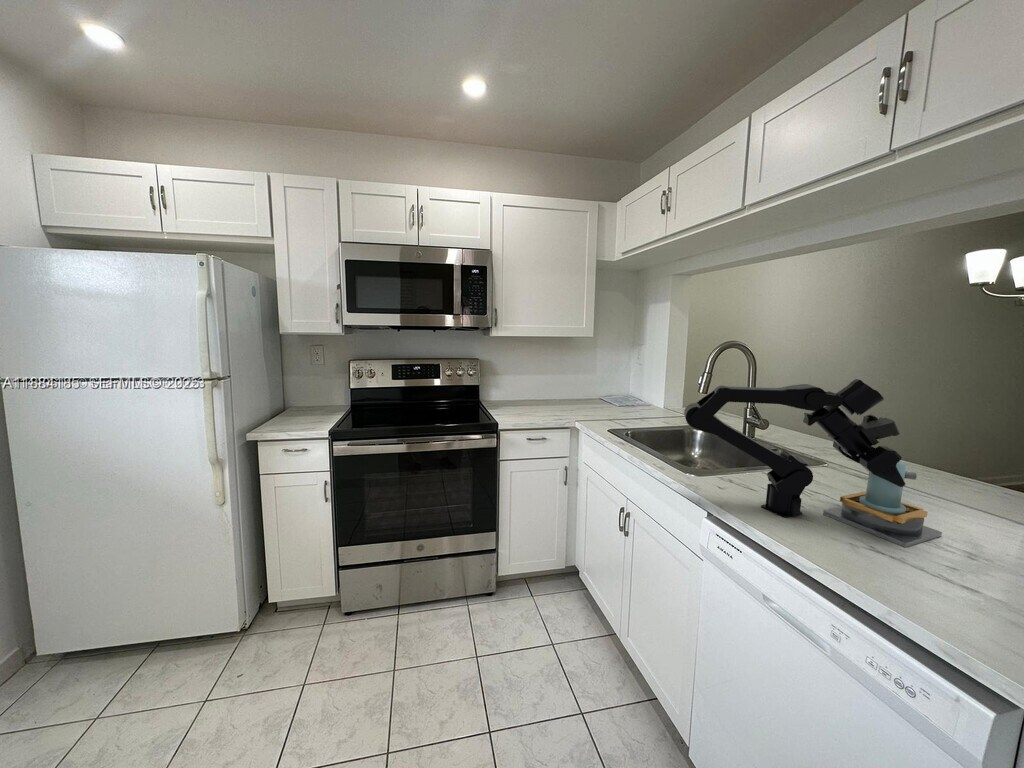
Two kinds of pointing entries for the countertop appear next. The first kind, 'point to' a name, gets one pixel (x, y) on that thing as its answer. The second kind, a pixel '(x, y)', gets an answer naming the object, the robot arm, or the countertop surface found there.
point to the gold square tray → (884, 521)
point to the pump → (886, 492)
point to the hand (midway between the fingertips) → (891, 478)
